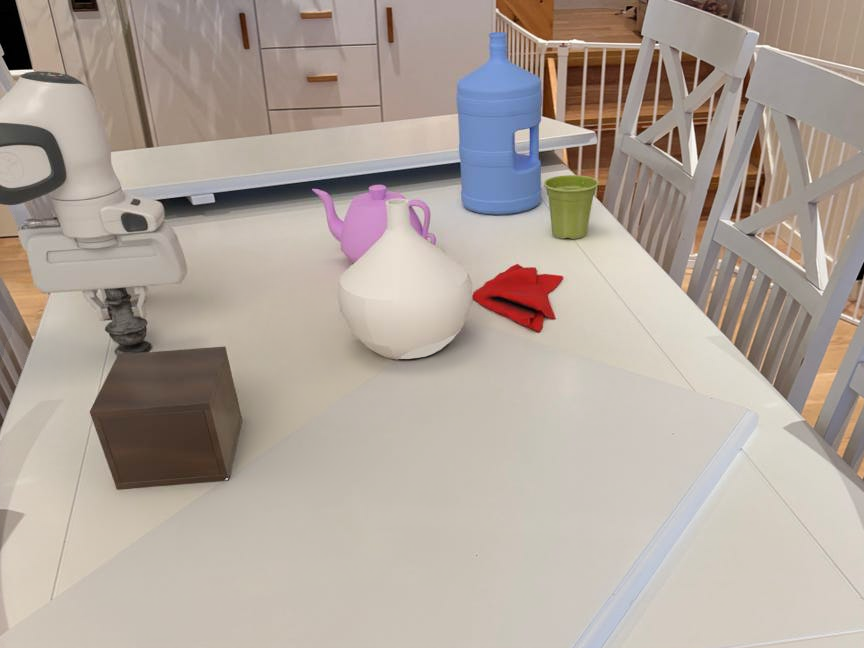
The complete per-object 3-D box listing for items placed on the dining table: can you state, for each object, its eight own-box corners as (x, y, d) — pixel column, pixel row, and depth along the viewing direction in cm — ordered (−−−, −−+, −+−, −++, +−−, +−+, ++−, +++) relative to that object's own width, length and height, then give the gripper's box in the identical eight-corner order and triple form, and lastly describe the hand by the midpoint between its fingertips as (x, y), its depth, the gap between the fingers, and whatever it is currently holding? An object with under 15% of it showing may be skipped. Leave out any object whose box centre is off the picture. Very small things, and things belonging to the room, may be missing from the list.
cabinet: (140, 427, 114) (117, 354, 107) (242, 419, 114) (225, 346, 108) (116, 489, 103) (89, 411, 96) (228, 480, 103) (209, 402, 97)
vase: (498, 352, 126) (494, 205, 114) (378, 386, 120) (360, 234, 107) (437, 310, 138) (427, 173, 126) (325, 339, 132) (303, 197, 119)
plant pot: (571, 222, 168) (573, 171, 162) (607, 234, 162) (609, 181, 156) (532, 234, 164) (532, 182, 158) (567, 247, 158) (569, 193, 152)
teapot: (312, 277, 151) (299, 199, 143) (333, 248, 162) (323, 174, 154) (430, 279, 149) (424, 199, 141) (444, 249, 159) (440, 173, 151)
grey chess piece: (122, 361, 129) (95, 275, 121) (106, 349, 132) (78, 264, 124) (161, 349, 132) (136, 264, 124) (144, 337, 135) (119, 254, 127)
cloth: (485, 267, 152) (485, 253, 150) (568, 268, 150) (568, 254, 148) (457, 330, 133) (457, 315, 131) (552, 333, 131) (552, 317, 129)
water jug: (459, 217, 173) (450, 42, 154) (463, 193, 184) (456, 28, 166) (542, 215, 172) (543, 39, 153) (540, 191, 184) (541, 25, 165)
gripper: (5, 227, 117) (43, 332, 126) (166, 216, 118) (192, 321, 127) (19, 212, 122) (55, 314, 131) (174, 202, 123) (199, 304, 132)
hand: (124, 318), depth 129 cm, fingers closed on grey chess piece, 3 cm apart
